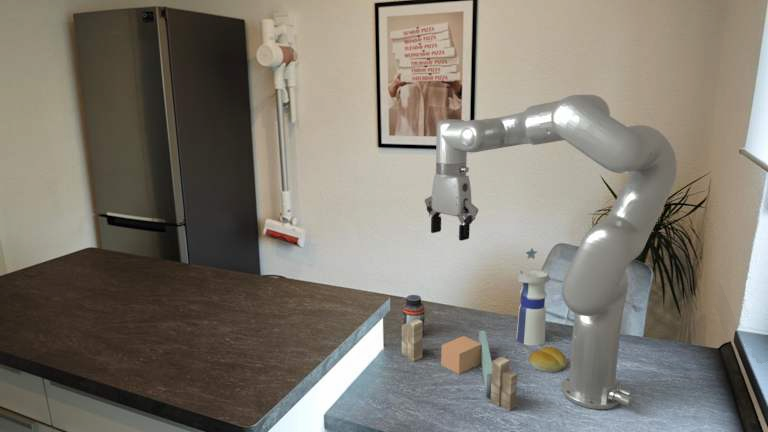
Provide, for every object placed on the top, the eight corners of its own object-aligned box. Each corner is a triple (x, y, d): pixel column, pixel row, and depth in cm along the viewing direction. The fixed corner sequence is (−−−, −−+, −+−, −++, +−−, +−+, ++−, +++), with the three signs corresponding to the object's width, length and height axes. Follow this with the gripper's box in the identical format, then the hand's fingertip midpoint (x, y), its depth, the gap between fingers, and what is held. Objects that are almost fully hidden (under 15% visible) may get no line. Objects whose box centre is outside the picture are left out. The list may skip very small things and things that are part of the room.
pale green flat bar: (494, 398, 118) (495, 377, 117) (486, 397, 118) (487, 377, 117) (485, 348, 141) (485, 331, 140) (478, 348, 141) (478, 330, 140)
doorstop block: (480, 364, 134) (481, 343, 133) (458, 374, 129) (459, 353, 128) (463, 355, 139) (463, 335, 137) (441, 365, 134) (441, 345, 132)
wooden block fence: (516, 406, 116) (519, 364, 113) (508, 411, 114) (510, 369, 112) (408, 350, 141) (408, 315, 139) (400, 354, 139) (400, 318, 137)
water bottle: (507, 336, 149) (511, 250, 143) (531, 330, 152) (536, 246, 147) (526, 348, 142) (532, 258, 136) (552, 342, 145) (558, 254, 139)
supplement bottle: (404, 329, 153) (404, 292, 151) (424, 330, 152) (425, 293, 150) (401, 339, 148) (401, 300, 145) (423, 340, 147) (423, 301, 144)
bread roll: (522, 363, 134) (523, 348, 134) (546, 354, 139) (547, 339, 138) (548, 377, 128) (549, 362, 127) (572, 367, 132) (574, 352, 131)
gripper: (488, 171, 130) (485, 239, 134) (436, 164, 143) (435, 227, 146) (467, 175, 125) (465, 245, 129) (416, 167, 138) (415, 231, 142)
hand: (449, 235), depth 138 cm, fingers open, 9 cm apart
